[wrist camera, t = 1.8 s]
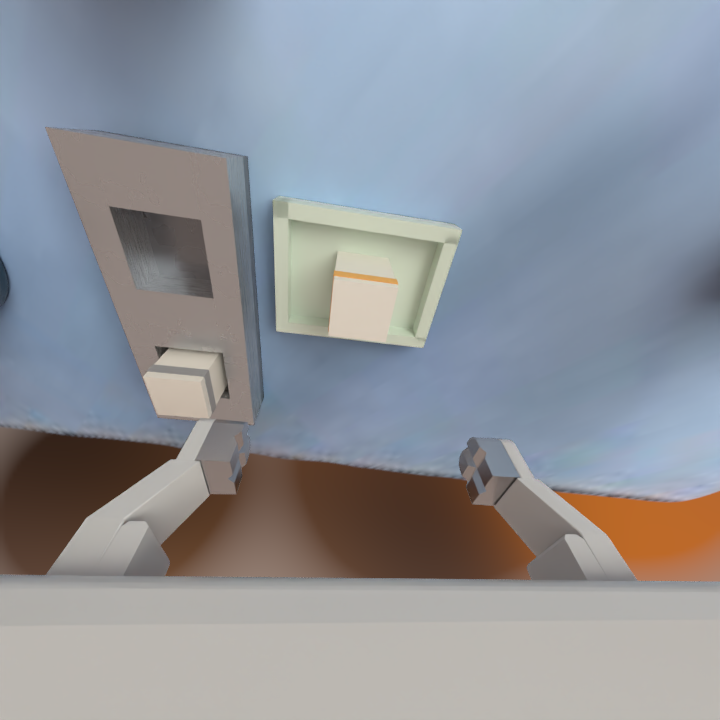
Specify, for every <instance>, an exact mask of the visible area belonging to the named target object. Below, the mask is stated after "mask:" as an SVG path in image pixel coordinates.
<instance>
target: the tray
mask: <svg viewBox="0 0 720 720" xmlns="http://www.w3.org/2000/svg"><path fill="white" fill-rule="evenodd" d="M273 229H274V266H275V302H276V331H279V332H287V333H296V334H305V335H314V336H323V337H331V338H340V339H349V340H358V341H367V342H376V343H384V344H393V345H402V346H411V347H420V348H423V347H424V344H425V341H426V338H427V335H428V332H429V329H430V326H431V323H432V320H433V317H434V314H435V311H436V308H437V305H438V302H439V299H440V296H441V293H442V290H443V287H444V284H445V281H446V278H447V275H448V272H449V269H450V266H451V263H452V260H453V257H454V254H455V251H456V248H457V245H458V242H459V239H460V236H461V233H462V230H461V229H460V228H459V227H457V226H456V225H455V224H450V223H444V222H438V221H432V220H425V219H419V218H413V217H407V216H401V215H395V214H388V213H382V212H376V211H370V210H364V209H357V208H351V207H345V206H339V205H333V204H327V203H320V202H314V201H308V200H302V199H296V198H289V197H283V196H278V197H276V198H275V199H273ZM338 251H343V252H350V253H357V254H364V255H371V256H378V257H385V258H389V261H390V264H391V267H392V270H393V273H394V276H395V279H397V281H398V293H397V297H396V301H395V305H394V309H393V314H392V318H391V322H390V326H389V330H388V335H387V339H386V342H378V341H370V340H361V339H352V338H343V337H335V336H328V333H329V332H328V327H329V316H330V306H331V295H332V285H333V274H334V270H335V266H336V259H337V252H338Z"/></svg>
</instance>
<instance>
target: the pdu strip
mask: <svg viewBox="0 0 720 720" xmlns="http://www.w3.org/2000/svg"><path fill="white" fill-rule="evenodd" d="M45 128H46V131H47V133H48V136H49V138H50V141H51V144H52V146H53V149H54V151H55V154H56V156H57V159H58V162H59V164H60V167H61V169H62V172H63V175H64V177H65V180H66V182H67V185H68V187H69V190H70V193H71V195H72V198H73V200H74V203H75V205H76V208H77V211H78V213H79V216H80V218H81V221H82V223H83V226H84V229H85V231H86V234H87V236H88V239H89V242H90V244H91V247H92V249H93V252H94V254H95V257H96V260H97V262H98V265H99V267H100V270H101V272H102V275H103V278H104V280H105V283H106V285H107V288H108V290H109V293H110V296H111V298H112V301H113V303H114V306H115V308H116V311H117V314H118V316H119V319H120V321H121V324H122V327H123V329H124V332H125V334H126V337H127V339H128V342H129V345H130V347H131V350H132V352H133V355H134V357H135V360H136V363H137V365H138V368H139V370H140V373H141V375H142V378H143V376H144V375H145V374H146V373H147V370H148V369H149V368H150V367H151V366H152V365H153V364H155V363H156V362H157V361H158V360H159V358H160V357H161V356H162V355H163V354H164V353H165V352H166V351H167V350H168V349H169V348H179V349H188V350H198V351H208V352H217V353H223V358H224V364H225V371H226V377H227V383H228V384H227V386H226V388H225V390H224V392H223V394H222V395H221V397H220V399H219V401H218V403H217V405H216V409H215V411H214V412H213V414H211V416H210V418H209V419H221V420H231V421H242V422H248V425H254V424H255V421H256V418H257V415H258V412H259V410H260V407H261V404H262V401H263V398H264V392H263V377H262V362H261V348H260V333H259V318H258V303H257V288H256V274H255V259H254V244H253V229H252V214H251V200H250V185H249V170H248V157H247V156H242V155H236V154H230V153H224V152H219V151H213V150H207V149H201V148H196V147H190V146H184V145H178V144H173V143H167V142H161V141H155V140H150V139H144V138H138V137H132V136H127V135H121V134H115V133H110V132H104V131H95V130H81V129H66V128H51V127H45ZM143 381H144V378H143ZM144 383H145V381H144ZM145 386H146V384H145ZM146 388H147V386H146ZM147 391H148V389H147ZM148 394H149V391H148ZM149 396H150V394H149ZM150 399H151V397H150ZM151 401H152V399H151ZM152 404H153V402H152ZM153 406H154V404H153ZM154 409H155V407H154ZM155 412H156V409H155ZM156 414H157V412H156ZM157 417H158V418H168V419H181V420H194V421H198V420H199V419H200V418H194V417H182V416H169V415H157Z"/></svg>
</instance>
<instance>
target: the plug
mask: <svg viewBox="0 0 720 720" xmlns="http://www.w3.org/2000/svg"><path fill="white" fill-rule="evenodd" d="M397 293H398V281H397V279H395V276H394V273H393V270H392V267H391V264H390V261H389V258H385V257H378V256H371V255H364V254H357V253H350V252H343V251H338V252H337V259H336V266H335V270H334V274H333V285H332V295H331V306H330V316H329V327H328V332H329V333H328V336H335V337H343V338H352V339H361V340H370V341H378V342H386V339H387V335H388V330H389V326H390V322H391V318H392V314H393V309H394V305H395V301H396V297H397Z"/></svg>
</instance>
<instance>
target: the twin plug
mask: <svg viewBox="0 0 720 720" xmlns="http://www.w3.org/2000/svg"><path fill="white" fill-rule="evenodd" d="M143 378H144V381H145V384H146V386H147V389H148V391H149V394H150V397H151V399H152V402H153V404H154V407H155V409H156V412H157V415H169V416H182V417H194V418H210V416H211V414H213V412H214V411H215V409H216V405H217V403H218V401H219V399H220V397H221V395H222V394H223V392H224V390H225V388H226V386H227V384H228V383H227V377H226V371H225V364H224V358H223V353H217V352H208V351H198V350H188V349H179V348H169V349H168V350H167V351H166V352H165V353H164V354H163V355H162V356H161V357H160V358H159V360H158V361H157V362H156V363H155V364H153V365H152V366H151V367H150V368H149V369H148V370H147V373H146V374H145V375H144V376H143Z"/></svg>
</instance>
